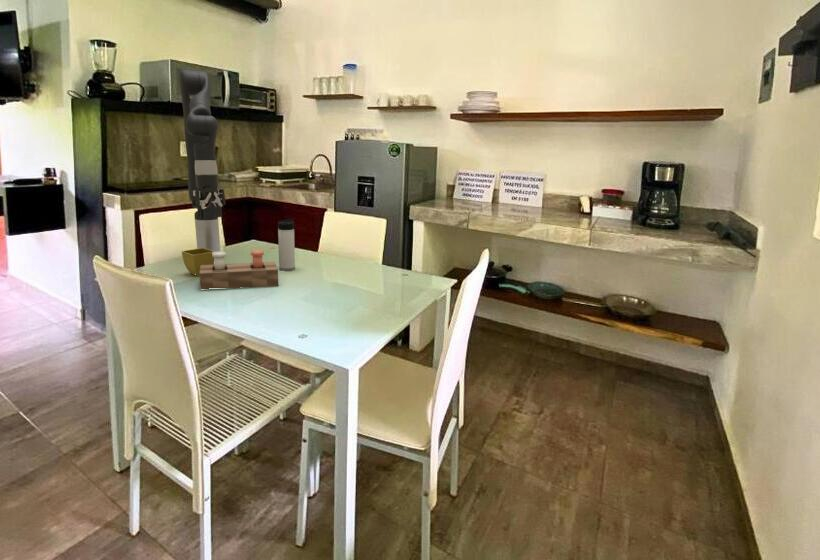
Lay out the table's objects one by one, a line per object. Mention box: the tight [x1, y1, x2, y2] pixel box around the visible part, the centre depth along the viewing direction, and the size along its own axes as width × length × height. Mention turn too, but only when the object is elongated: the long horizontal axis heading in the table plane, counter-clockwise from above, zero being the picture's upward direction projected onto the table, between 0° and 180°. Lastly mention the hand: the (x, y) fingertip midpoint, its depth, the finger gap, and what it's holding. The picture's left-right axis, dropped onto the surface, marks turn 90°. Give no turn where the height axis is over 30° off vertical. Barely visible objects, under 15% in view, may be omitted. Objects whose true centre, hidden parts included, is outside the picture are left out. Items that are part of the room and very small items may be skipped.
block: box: [199, 261, 279, 290], centre depth 175 cm, size 12×26×6 cm, turn 111°
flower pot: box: [180, 248, 215, 276], centre depth 184 cm, size 9×9×9 cm
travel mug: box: [277, 218, 296, 272], centre depth 195 cm, size 6×7×20 cm
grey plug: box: [212, 250, 227, 270], centre depth 171 cm, size 4×4×7 cm
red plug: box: [250, 249, 265, 269], centre depth 176 cm, size 4×4×7 cm
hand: (210, 218), depth 178 cm, fingers open, 8 cm apart
